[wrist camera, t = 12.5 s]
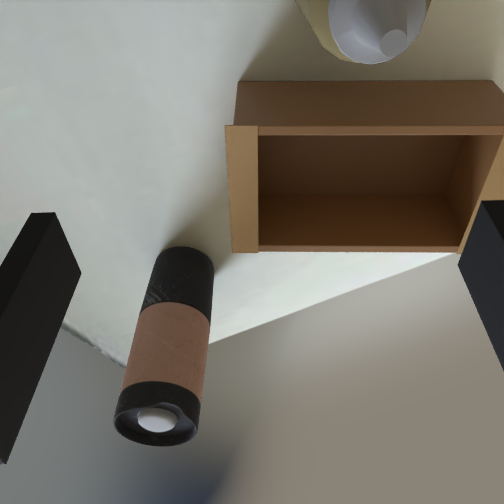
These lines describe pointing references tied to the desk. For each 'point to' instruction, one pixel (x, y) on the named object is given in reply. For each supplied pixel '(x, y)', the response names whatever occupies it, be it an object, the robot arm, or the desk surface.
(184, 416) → the travel mug
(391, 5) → the squeeze bottle
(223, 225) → the desk surface
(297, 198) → the wooden box
